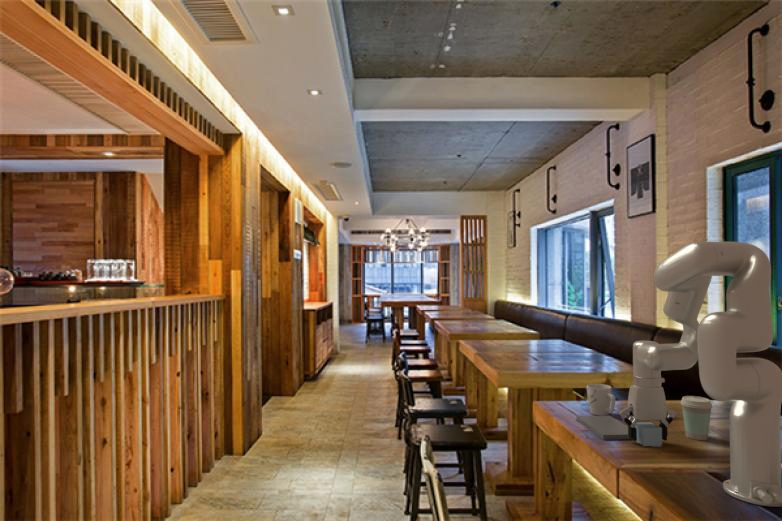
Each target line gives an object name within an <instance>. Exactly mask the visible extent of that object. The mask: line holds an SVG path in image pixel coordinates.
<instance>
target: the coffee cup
mask: <svg viewBox="0 0 782 521" xmlns="http://www.w3.org/2000/svg"><path fill="white" fill-rule="evenodd" d="M711 401H712V400H710V399H709V398H706V397H702V396H695V395H685V396H682V398H681V400H680V405H681V410H682V417H683V423H684V429H685V436H686V437H687V438H688V437H689V439H691V438H692V440H696V441H708V439H709V431H710V424H711V423H710V422H711V415H712V408H713V404H712V402H711Z"/></svg>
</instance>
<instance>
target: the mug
mask: <svg viewBox="0 0 782 521" xmlns="http://www.w3.org/2000/svg"><path fill="white" fill-rule="evenodd" d="M586 395H587V403H588V408H589V412H590V414H592V415H593V416H609V414H613V413H614V412H615V407H616V396H615V395H614V394H613V393H612V386H611V385H608V384H603V383H589V384H588V383H587V385H586Z"/></svg>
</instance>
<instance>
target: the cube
mask: <svg viewBox="0 0 782 521" xmlns="http://www.w3.org/2000/svg"><path fill="white" fill-rule="evenodd" d="M635 428H636V429H637V442H636V443H638V444H639V443H640V444H639V445H641V444H642V445H644V446H652V447H662V446H663V439H662V428H661V427H659V425H657V424H655V423H653V422H652V421H651V422H650V421H646V422H638V423H637V424H636V425H635ZM642 445H641V446H642ZM661 445H662V446H661ZM644 446H643V447H644Z"/></svg>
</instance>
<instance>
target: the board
mask: <svg viewBox="0 0 782 521" xmlns="http://www.w3.org/2000/svg"><path fill="white" fill-rule="evenodd" d="M576 421H577V423H579V424H580V425H581V426H583V427H585V428H586V429H588V430H589V431H590V432H591V433H593V434H594V435H596V436H598V437H599V438H600V439H601V440H603V441H608V440H609V441H613V440H615V441H616V440H617V441H618V440H631V439H630V438H629V436H628V425H627V424H626V423H625V424H624V422H621V421H620V420H618V419H617V418H614V417H613V416H612V415H606V416H598V415H581V416H579V415H578V416H577V415H576Z"/></svg>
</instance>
